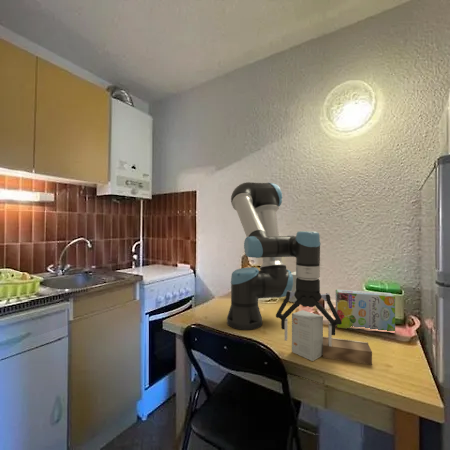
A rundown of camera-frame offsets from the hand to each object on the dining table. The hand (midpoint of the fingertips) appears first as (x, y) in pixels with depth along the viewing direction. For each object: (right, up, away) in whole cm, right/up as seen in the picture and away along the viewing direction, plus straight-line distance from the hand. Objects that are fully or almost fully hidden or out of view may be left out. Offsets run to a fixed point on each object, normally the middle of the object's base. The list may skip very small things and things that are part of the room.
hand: (307, 342), depth 87 cm
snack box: (+30, -4, +21) cm, 37 cm away
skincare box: (+12, -3, +58) cm, 60 cm away
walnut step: (+12, -4, -1) cm, 13 cm away
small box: (0, -4, +1) cm, 4 cm away
